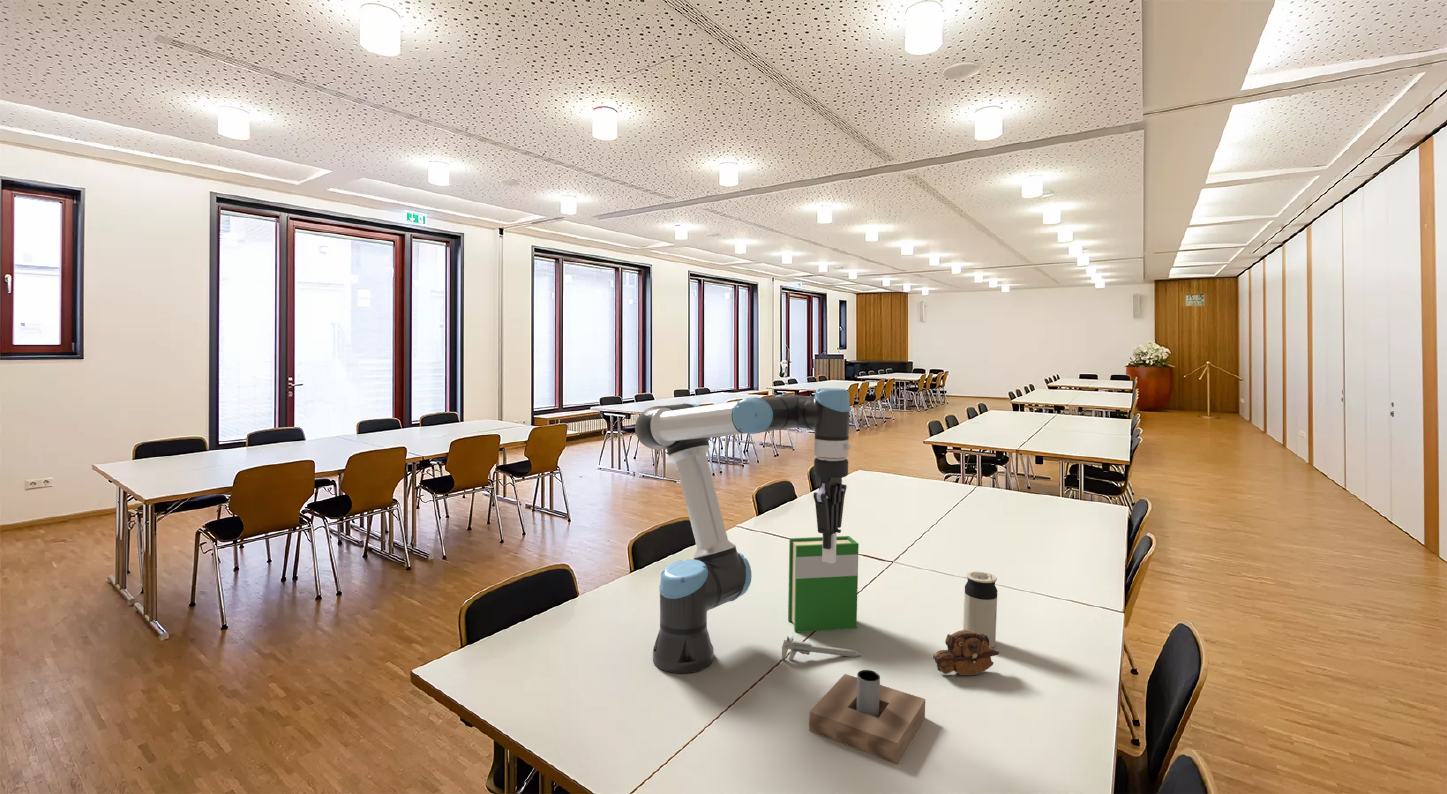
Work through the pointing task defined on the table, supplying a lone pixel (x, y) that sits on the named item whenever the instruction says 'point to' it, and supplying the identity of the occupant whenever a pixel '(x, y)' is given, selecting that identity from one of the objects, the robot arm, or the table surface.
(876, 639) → the table surface
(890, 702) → the socket board
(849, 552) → the hardback book
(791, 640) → the caliper
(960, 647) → the wooden carving
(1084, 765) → the table surface
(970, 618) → the travel mug
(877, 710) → the grey metal tube
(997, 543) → the table surface
